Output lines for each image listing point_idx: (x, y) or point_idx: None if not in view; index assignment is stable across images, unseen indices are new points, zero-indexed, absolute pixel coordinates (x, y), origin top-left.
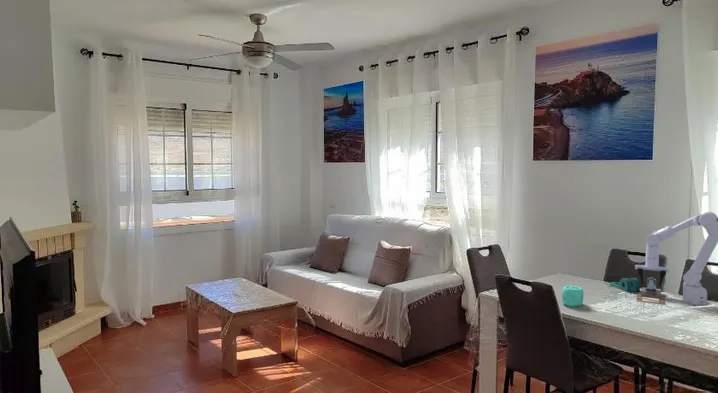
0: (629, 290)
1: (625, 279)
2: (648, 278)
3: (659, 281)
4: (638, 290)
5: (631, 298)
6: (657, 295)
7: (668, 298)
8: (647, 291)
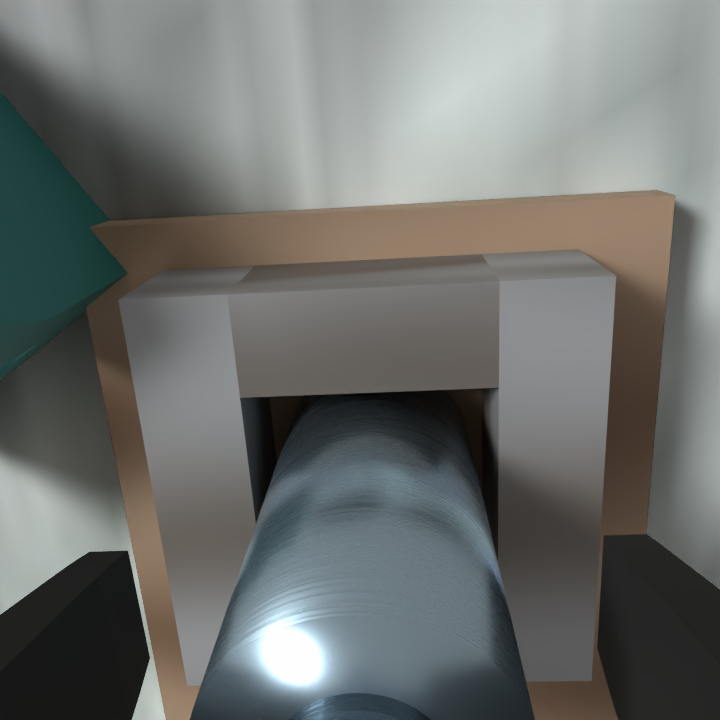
0: None
1: None
2: (239, 699)
3: (655, 600)
4: (89, 300)
5: None
6: None
7: (713, 369)
8: None
